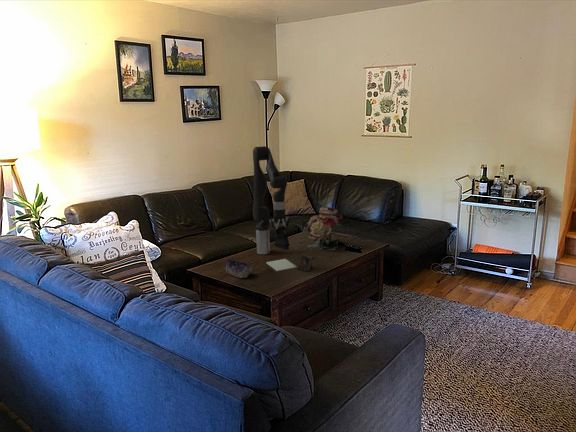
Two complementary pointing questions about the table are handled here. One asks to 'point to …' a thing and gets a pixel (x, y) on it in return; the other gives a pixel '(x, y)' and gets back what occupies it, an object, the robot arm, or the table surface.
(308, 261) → the portable electronic device stand
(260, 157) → the robot arm
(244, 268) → the geode
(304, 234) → the table surface
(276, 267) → the sage mat
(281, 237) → the black red yellow block
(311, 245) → the rose bouquet
